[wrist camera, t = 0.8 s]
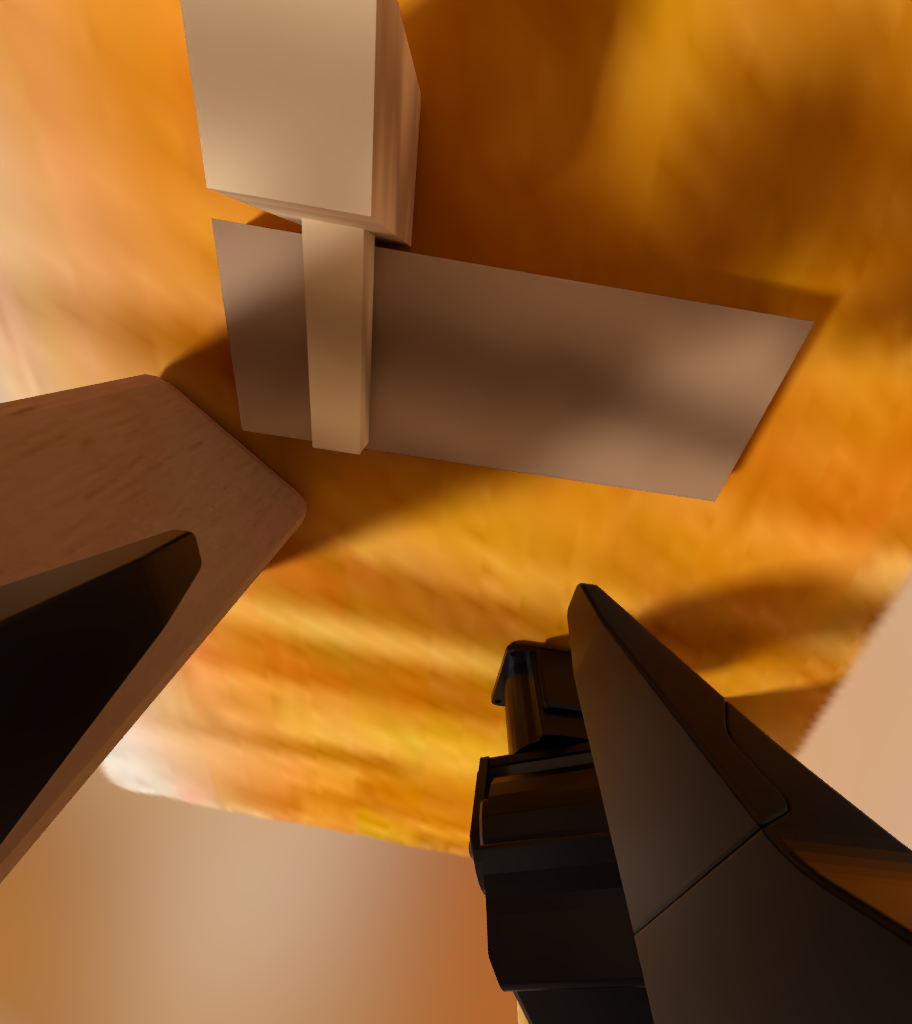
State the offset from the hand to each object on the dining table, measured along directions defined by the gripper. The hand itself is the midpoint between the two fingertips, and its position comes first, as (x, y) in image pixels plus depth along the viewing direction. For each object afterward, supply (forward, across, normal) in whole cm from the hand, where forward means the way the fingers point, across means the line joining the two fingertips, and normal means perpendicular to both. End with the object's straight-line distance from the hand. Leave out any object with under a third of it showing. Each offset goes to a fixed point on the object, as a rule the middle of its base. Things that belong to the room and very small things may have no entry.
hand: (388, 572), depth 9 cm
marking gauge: (+12, +4, -6) cm, 14 cm away
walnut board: (+12, -3, -3) cm, 13 cm away
